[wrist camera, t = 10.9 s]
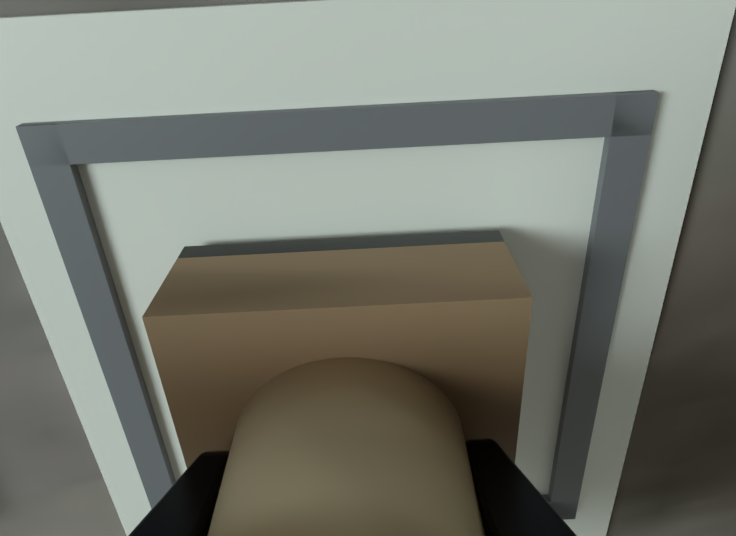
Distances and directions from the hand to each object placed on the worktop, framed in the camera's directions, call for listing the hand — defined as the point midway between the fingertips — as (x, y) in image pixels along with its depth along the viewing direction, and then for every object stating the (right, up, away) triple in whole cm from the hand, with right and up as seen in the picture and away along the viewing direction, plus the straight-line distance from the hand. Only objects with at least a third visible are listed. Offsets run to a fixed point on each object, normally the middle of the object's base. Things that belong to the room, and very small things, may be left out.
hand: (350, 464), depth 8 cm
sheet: (0, +1, +2) cm, 3 cm away
